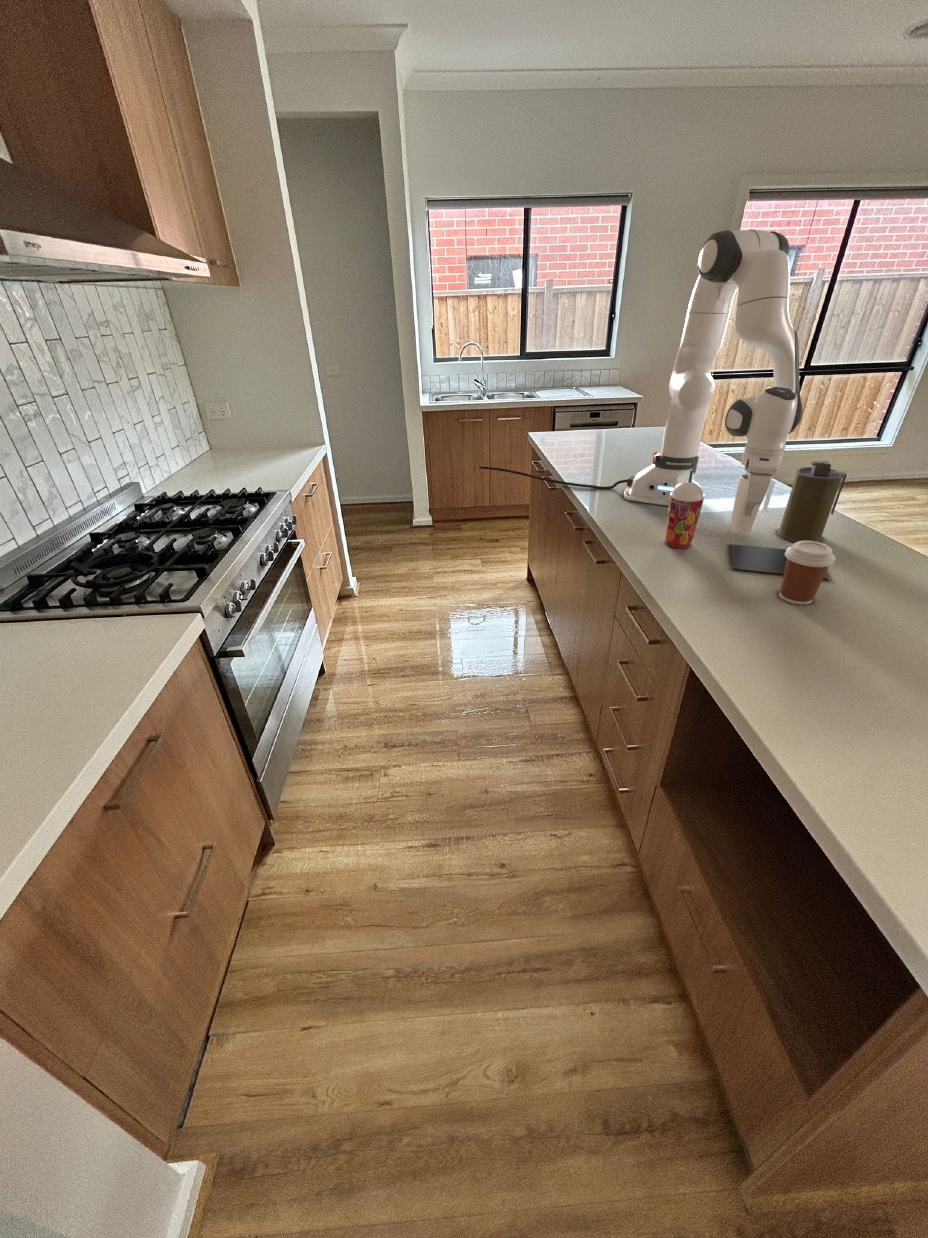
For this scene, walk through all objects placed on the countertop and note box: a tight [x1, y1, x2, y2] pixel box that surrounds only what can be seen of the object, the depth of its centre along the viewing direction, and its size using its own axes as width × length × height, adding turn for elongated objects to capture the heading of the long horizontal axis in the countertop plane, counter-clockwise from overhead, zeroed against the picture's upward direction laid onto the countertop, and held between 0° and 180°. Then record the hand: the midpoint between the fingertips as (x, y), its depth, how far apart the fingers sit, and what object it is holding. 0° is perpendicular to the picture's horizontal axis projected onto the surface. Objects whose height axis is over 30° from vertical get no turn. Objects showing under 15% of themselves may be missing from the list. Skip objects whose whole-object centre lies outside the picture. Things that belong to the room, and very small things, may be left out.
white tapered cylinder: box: [728, 473, 762, 536], centre depth 136 cm, size 7×7×15 cm
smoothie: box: [664, 470, 706, 549], centre depth 133 cm, size 8×8×20 cm
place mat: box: [729, 543, 830, 581], centre depth 127 cm, size 20×15×1 cm
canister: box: [777, 460, 848, 543], centre depth 134 cm, size 11×10×20 cm
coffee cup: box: [778, 541, 837, 605], centre depth 109 cm, size 9×9×12 cm
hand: (746, 510), depth 137 cm, fingers closed on white tapered cylinder, 6 cm apart
